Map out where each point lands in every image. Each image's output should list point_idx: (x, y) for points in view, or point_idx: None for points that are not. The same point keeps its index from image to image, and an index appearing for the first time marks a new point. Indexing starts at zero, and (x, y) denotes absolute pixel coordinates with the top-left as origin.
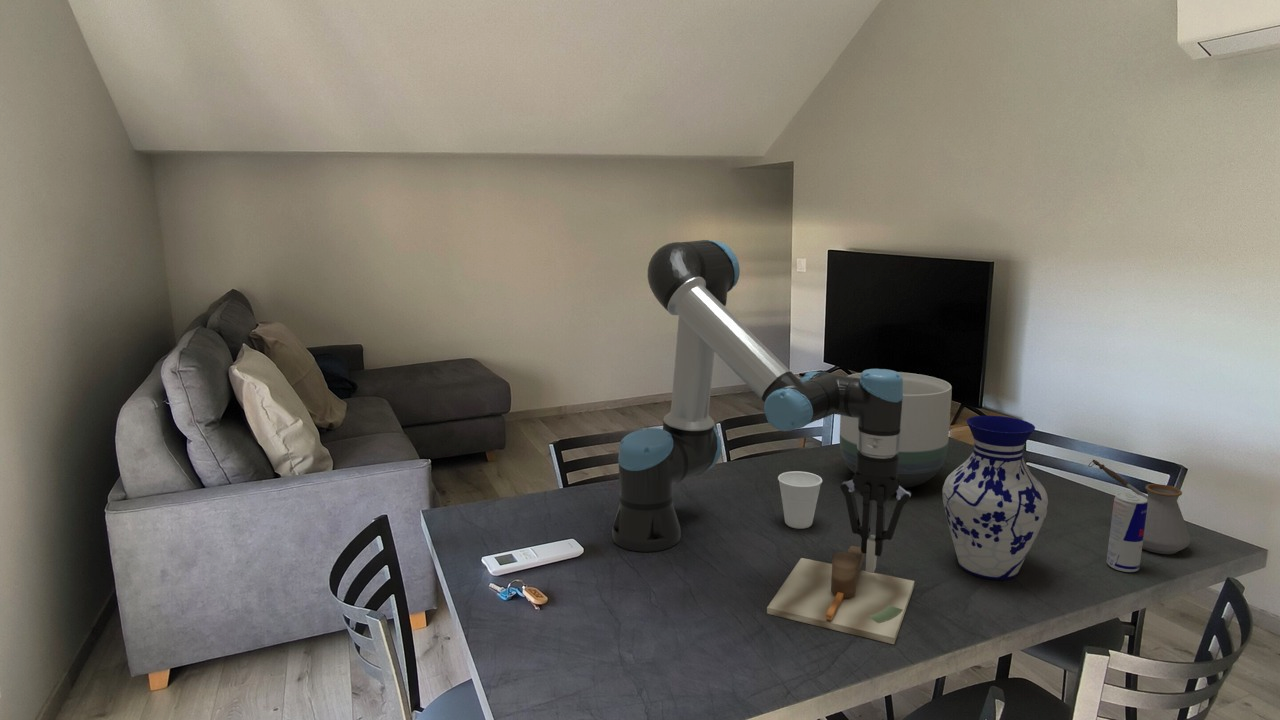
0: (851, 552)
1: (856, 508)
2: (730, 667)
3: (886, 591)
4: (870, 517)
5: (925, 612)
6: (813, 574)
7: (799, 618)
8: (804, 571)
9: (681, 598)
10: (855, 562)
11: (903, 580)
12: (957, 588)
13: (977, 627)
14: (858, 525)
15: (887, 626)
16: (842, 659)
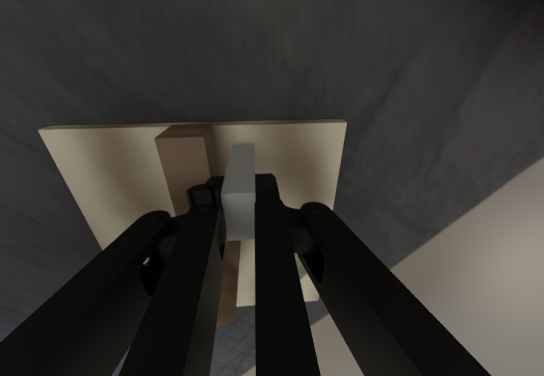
0: (181, 188)
1: (84, 342)
2: None
3: (291, 197)
4: (209, 286)
5: (359, 207)
6: (128, 200)
7: None
8: (102, 196)
9: (13, 322)
10: (235, 314)
11: (321, 133)
12: (443, 75)
13: (436, 212)
14: (162, 247)
15: (306, 285)
16: None
